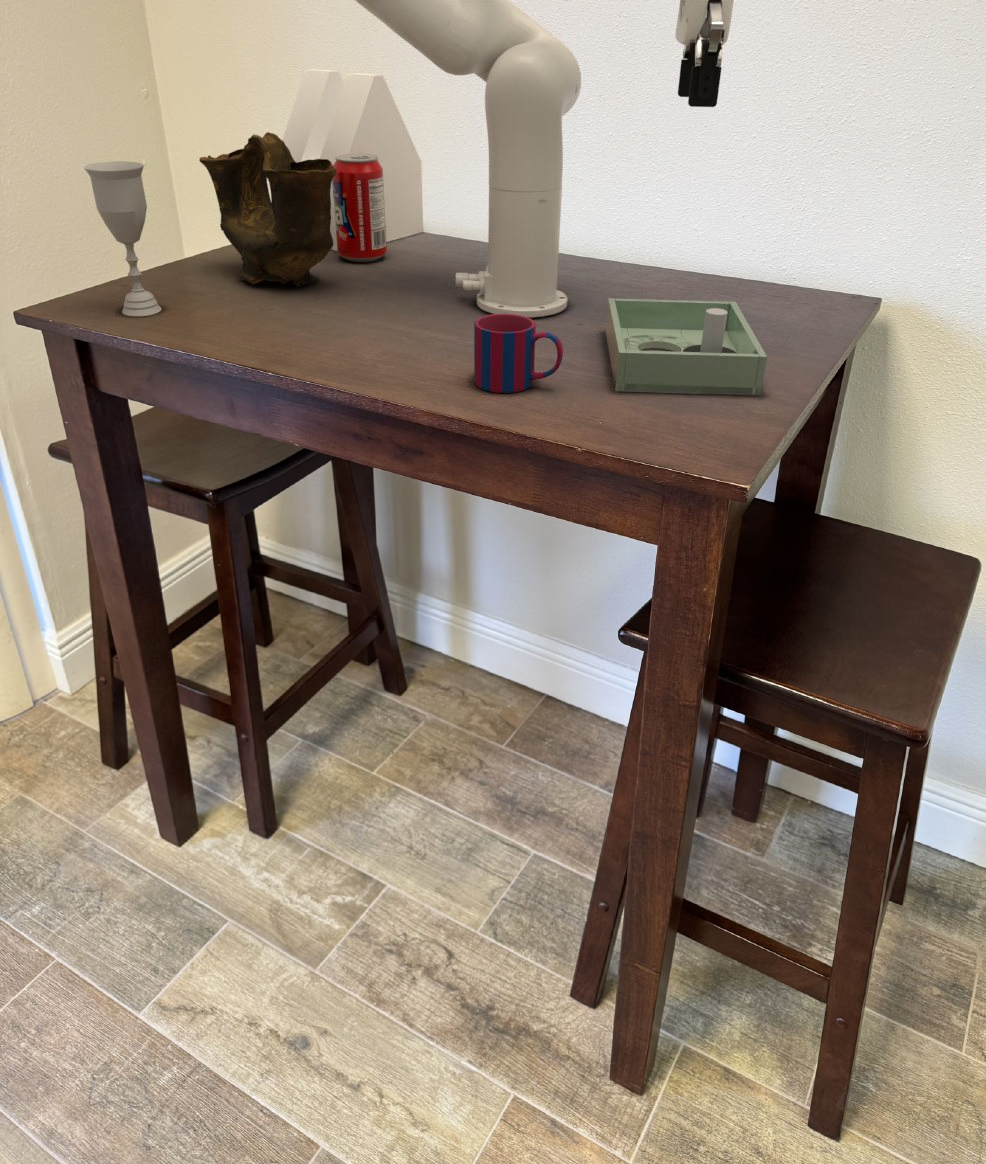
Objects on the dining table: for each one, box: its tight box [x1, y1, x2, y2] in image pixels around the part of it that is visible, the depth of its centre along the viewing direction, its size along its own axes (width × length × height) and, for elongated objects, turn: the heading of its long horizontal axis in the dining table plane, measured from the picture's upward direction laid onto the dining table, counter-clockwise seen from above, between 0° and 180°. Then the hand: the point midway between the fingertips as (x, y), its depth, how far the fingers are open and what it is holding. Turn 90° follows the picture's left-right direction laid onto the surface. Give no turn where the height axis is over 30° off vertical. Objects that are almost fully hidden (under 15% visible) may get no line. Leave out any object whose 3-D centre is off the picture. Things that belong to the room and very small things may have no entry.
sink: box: [605, 297, 768, 397], centre depth 111 cm, size 16×20×4 cm
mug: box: [473, 313, 564, 394], centre depth 103 cm, size 7×10×7 cm
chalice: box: [83, 160, 162, 317], centre depth 121 cm, size 7×7×18 cm
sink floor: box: [605, 328, 762, 396], centre depth 112 cm, size 16×20×1 cm
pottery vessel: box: [199, 131, 337, 287], centre depth 134 cm, size 25×11×20 cm, turn 46°
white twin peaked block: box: [281, 68, 424, 252], centre depth 156 cm, size 19×15×25 cm
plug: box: [683, 308, 737, 353], centre depth 107 cm, size 6×6×6 cm
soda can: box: [332, 154, 388, 263], centre depth 146 cm, size 8×8×15 cm
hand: (696, 101), depth 111 cm, fingers open, 9 cm apart
